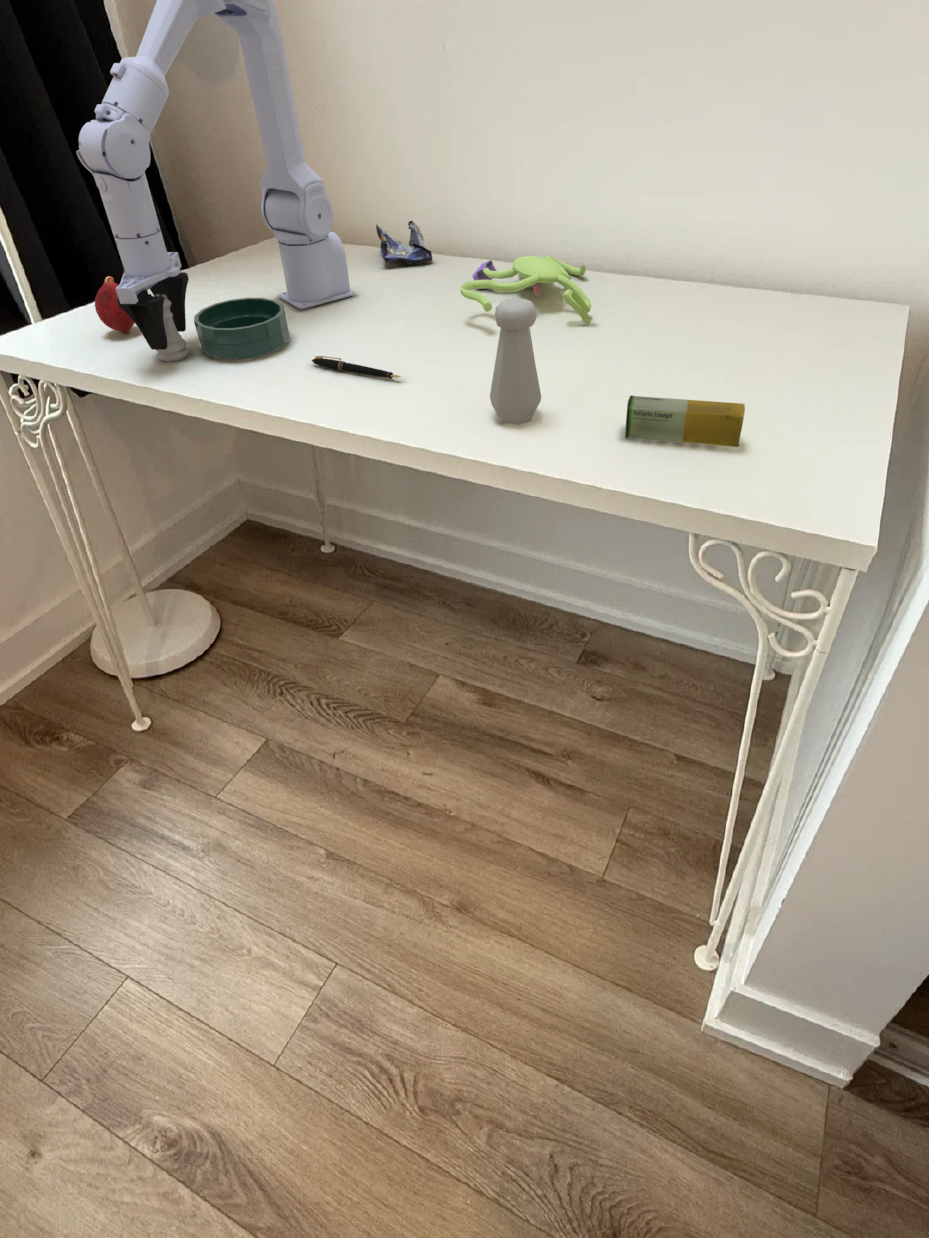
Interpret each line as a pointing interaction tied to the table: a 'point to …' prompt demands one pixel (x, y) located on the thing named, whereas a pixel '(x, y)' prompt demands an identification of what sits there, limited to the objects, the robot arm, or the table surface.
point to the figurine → (530, 281)
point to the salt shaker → (515, 363)
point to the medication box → (684, 420)
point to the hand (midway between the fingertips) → (169, 339)
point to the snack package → (404, 247)
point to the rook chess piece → (171, 337)
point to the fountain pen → (351, 367)
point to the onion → (111, 308)
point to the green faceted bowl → (242, 328)
